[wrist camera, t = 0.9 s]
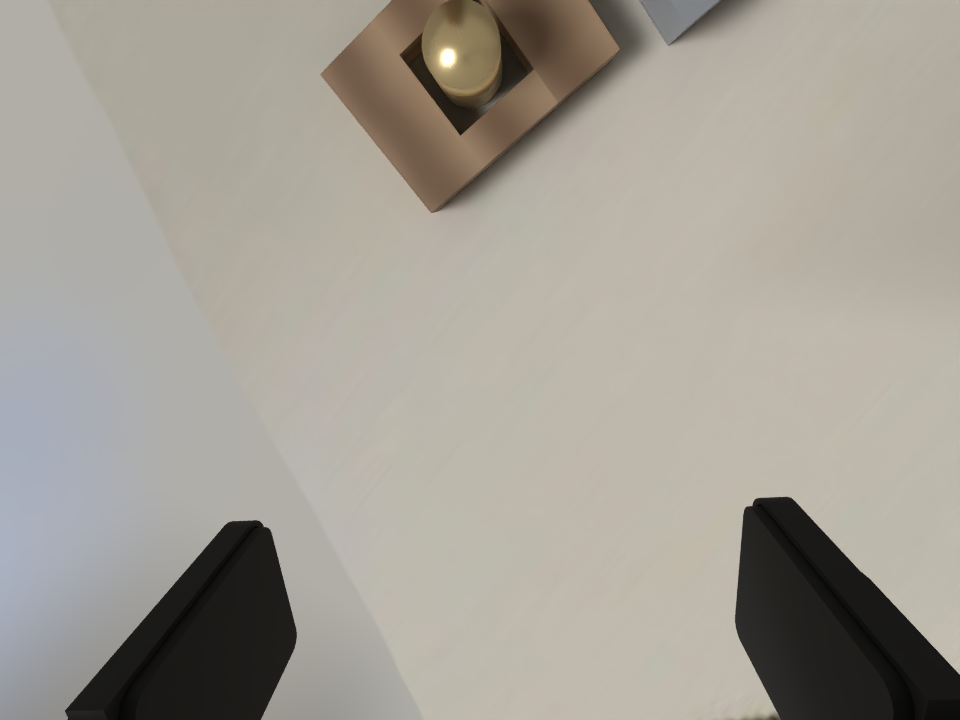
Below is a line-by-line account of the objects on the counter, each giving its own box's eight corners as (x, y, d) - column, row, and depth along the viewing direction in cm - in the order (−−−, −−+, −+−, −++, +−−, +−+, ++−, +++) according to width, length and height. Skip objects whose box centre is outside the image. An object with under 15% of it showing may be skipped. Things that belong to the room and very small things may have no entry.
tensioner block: (509, -95, 28) (509, -121, 26) (611, 60, 30) (619, 48, 28) (334, 83, 32) (320, 74, 29) (436, 211, 34) (431, 212, 31)
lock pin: (474, 19, 30) (466, -22, 25) (515, 76, 31) (516, 50, 25) (424, 67, 31) (405, 38, 26) (465, 122, 32) (455, 106, 26)
